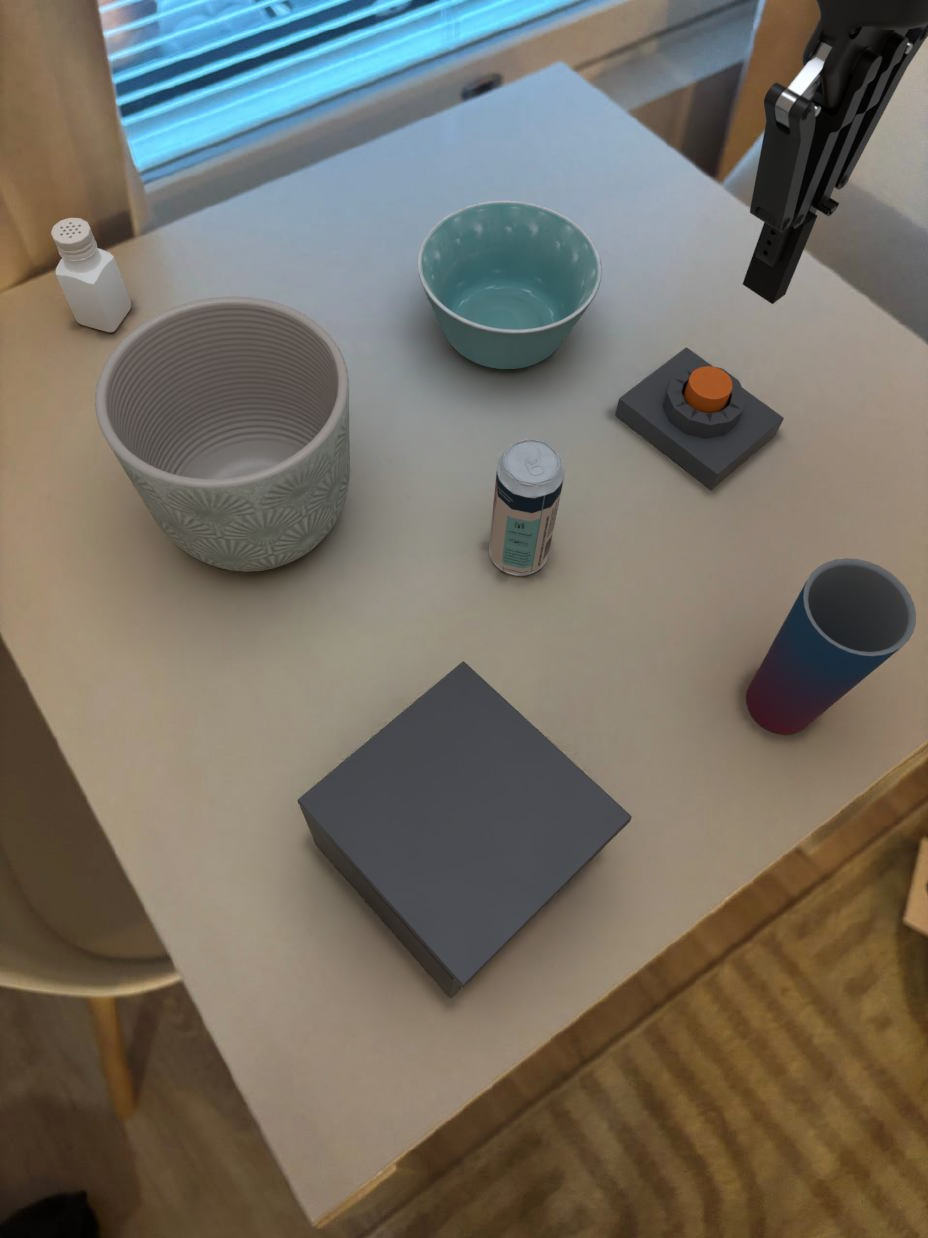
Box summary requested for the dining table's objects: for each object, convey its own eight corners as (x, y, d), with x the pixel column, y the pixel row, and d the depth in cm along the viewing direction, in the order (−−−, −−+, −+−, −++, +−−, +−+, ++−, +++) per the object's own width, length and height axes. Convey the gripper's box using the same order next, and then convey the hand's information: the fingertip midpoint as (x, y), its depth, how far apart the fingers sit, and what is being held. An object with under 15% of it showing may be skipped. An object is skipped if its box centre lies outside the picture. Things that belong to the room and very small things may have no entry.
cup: (779, 764, 68) (863, 676, 55) (715, 693, 71) (779, 593, 57) (844, 713, 70) (940, 617, 57) (779, 646, 73) (856, 539, 59)
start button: (735, 397, 80) (741, 383, 78) (708, 420, 78) (713, 406, 77) (702, 373, 81) (708, 359, 79) (675, 395, 80) (680, 381, 78)
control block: (776, 434, 83) (791, 403, 79) (710, 490, 79) (723, 460, 76) (680, 363, 86) (691, 331, 83) (614, 415, 83) (622, 383, 80)
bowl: (577, 411, 83) (591, 342, 76) (402, 383, 84) (400, 313, 77) (597, 287, 91) (611, 213, 83) (436, 262, 91) (436, 188, 84)
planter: (379, 583, 74) (367, 463, 61) (160, 621, 72) (98, 505, 59) (345, 419, 82) (328, 280, 69) (147, 448, 80) (89, 311, 66)
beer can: (532, 521, 77) (548, 425, 67) (557, 567, 75) (578, 476, 65) (479, 539, 76) (486, 445, 66) (502, 586, 74) (514, 497, 64)
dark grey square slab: (630, 821, 56) (632, 816, 55) (463, 988, 51) (463, 986, 50) (463, 666, 61) (463, 660, 61) (298, 804, 57) (296, 800, 56)
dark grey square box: (595, 853, 65) (617, 816, 57) (450, 999, 60) (452, 980, 52) (459, 718, 69) (463, 666, 61) (314, 843, 64) (298, 804, 57)
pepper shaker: (75, 325, 86) (36, 239, 78) (96, 296, 88) (61, 209, 80) (114, 336, 86) (80, 251, 77) (135, 306, 88) (103, 220, 79)
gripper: (897, -11, 43) (748, 363, 63) (1044, -104, 47) (860, 274, 68) (766, -76, 45) (663, 304, 66) (918, -158, 50) (777, 222, 71)
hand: (763, 288), depth 67 cm, fingers closed
